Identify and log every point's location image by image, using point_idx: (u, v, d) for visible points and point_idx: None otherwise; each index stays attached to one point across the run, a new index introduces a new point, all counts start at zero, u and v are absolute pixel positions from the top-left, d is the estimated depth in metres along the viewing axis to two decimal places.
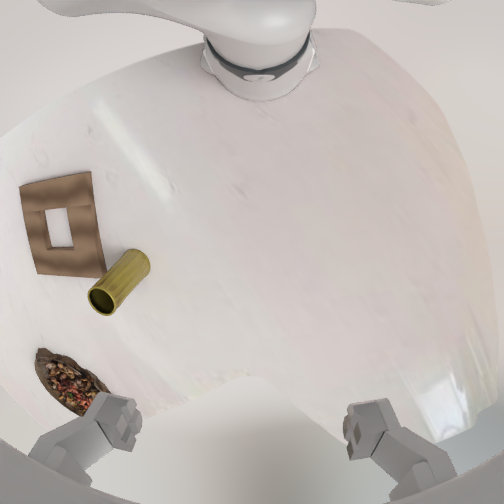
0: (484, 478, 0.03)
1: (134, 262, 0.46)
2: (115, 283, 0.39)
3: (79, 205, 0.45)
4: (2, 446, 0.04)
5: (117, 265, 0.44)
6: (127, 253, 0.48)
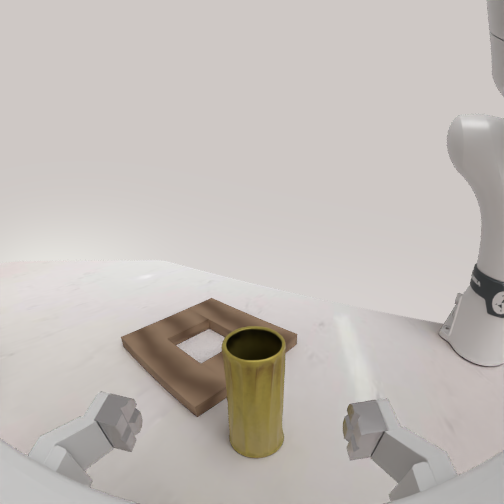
0: (484, 478, 0.03)
1: None
2: None
3: None
4: (2, 446, 0.04)
5: None
6: None
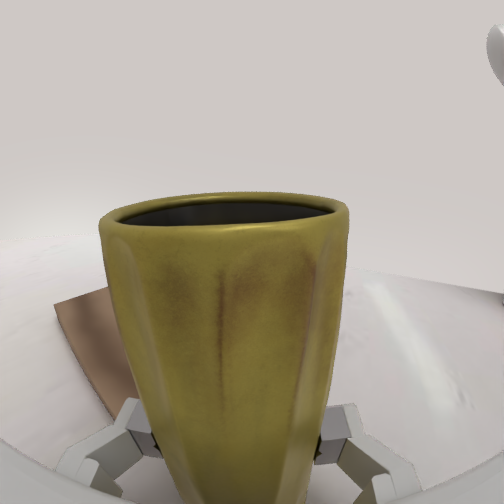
0: (484, 478, 0.03)
1: None
2: None
3: None
4: (2, 446, 0.04)
5: None
6: None
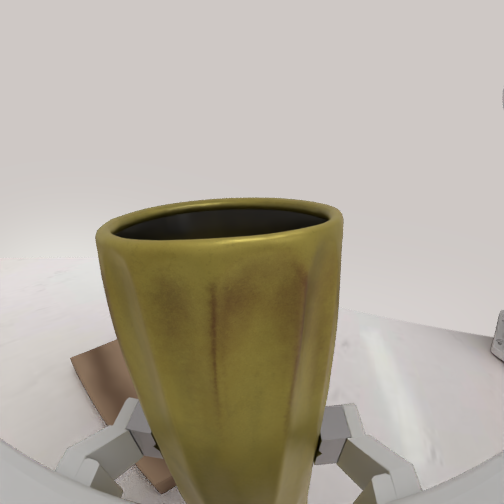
0: (484, 478, 0.03)
1: None
2: None
3: None
4: (2, 446, 0.04)
5: None
6: None
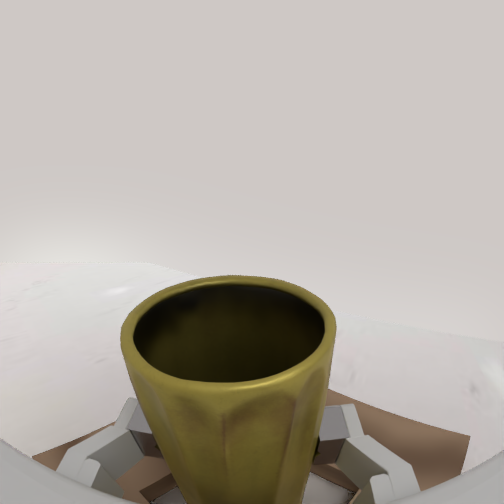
0: (484, 478, 0.03)
1: None
2: None
3: None
4: (2, 446, 0.04)
5: None
6: None
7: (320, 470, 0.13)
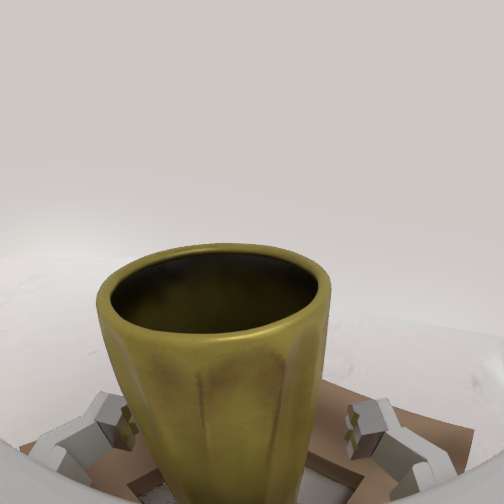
0: (484, 478, 0.03)
1: None
2: None
3: None
4: (2, 446, 0.04)
5: None
6: None
7: (318, 465, 0.12)
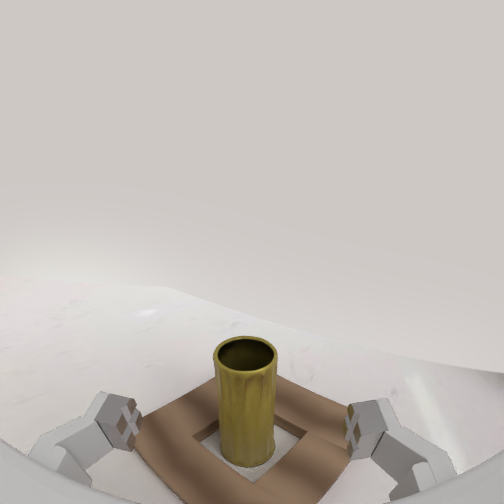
0: (484, 478, 0.03)
1: (273, 425, 0.25)
2: None
3: (335, 444, 0.23)
4: (2, 446, 0.04)
5: None
6: None
7: (286, 426, 0.28)
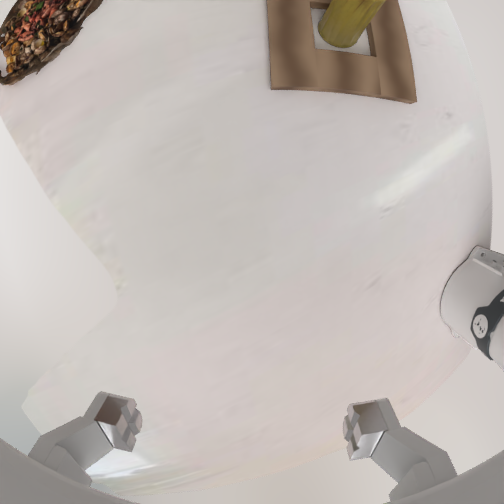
0: (484, 478, 0.03)
1: (360, 32, 0.26)
2: (377, 8, 0.19)
3: (380, 79, 0.30)
4: (2, 446, 0.04)
5: None
6: None
7: (371, 43, 0.29)
